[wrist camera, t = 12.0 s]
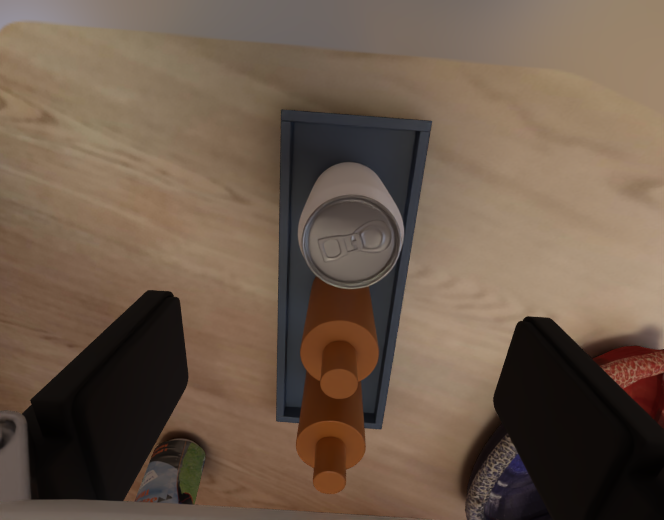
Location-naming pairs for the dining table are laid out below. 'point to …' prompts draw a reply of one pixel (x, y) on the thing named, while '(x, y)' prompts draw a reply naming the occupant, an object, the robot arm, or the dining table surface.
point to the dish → (507, 467)
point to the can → (350, 227)
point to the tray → (294, 274)
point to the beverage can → (173, 473)
